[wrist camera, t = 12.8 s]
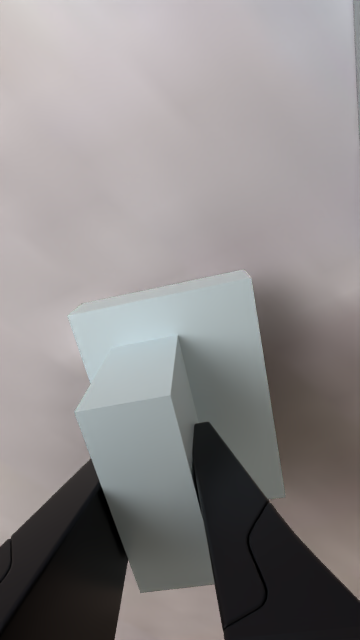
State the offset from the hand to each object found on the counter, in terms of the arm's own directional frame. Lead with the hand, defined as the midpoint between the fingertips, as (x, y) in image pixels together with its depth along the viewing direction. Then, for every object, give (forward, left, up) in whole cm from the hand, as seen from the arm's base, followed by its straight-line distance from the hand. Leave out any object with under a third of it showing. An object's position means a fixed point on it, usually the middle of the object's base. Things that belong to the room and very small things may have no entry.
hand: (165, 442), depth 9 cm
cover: (0, -1, -2) cm, 2 cm away
